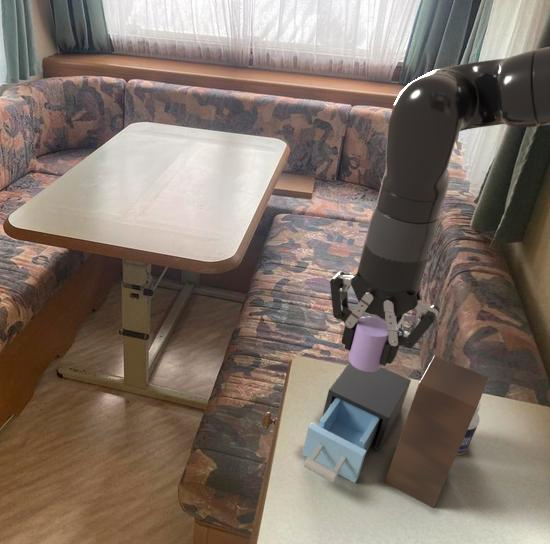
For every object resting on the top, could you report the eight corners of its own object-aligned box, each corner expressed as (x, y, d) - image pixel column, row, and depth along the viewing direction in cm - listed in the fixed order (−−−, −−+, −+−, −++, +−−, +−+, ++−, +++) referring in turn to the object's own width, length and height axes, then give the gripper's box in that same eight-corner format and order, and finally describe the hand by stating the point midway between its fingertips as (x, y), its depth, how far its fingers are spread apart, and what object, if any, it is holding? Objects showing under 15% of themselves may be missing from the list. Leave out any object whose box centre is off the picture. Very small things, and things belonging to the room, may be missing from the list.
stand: (444, 478, 85) (489, 377, 75) (431, 511, 80) (476, 407, 70) (398, 455, 89) (434, 355, 78) (382, 486, 84) (419, 382, 73)
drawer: (342, 506, 79) (350, 478, 76) (287, 475, 83) (293, 447, 80) (377, 442, 89) (386, 416, 86) (327, 417, 93) (334, 391, 90)
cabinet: (377, 453, 89) (389, 418, 85) (320, 424, 93) (328, 389, 89) (399, 413, 96) (411, 379, 92) (345, 388, 101) (354, 355, 97)
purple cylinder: (385, 359, 79) (396, 324, 76) (374, 376, 76) (385, 341, 73) (355, 346, 81) (364, 312, 78) (343, 362, 78) (352, 327, 75)
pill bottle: (431, 454, 89) (449, 409, 84) (427, 429, 93) (444, 384, 88) (468, 462, 88) (489, 417, 83) (462, 436, 93) (482, 391, 87)
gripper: (329, 236, 70) (306, 347, 79) (450, 277, 63) (410, 393, 72) (352, 216, 75) (328, 321, 84) (467, 251, 68) (427, 362, 77)
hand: (366, 354), depth 78 cm, fingers closed on purple cylinder, 4 cm apart
